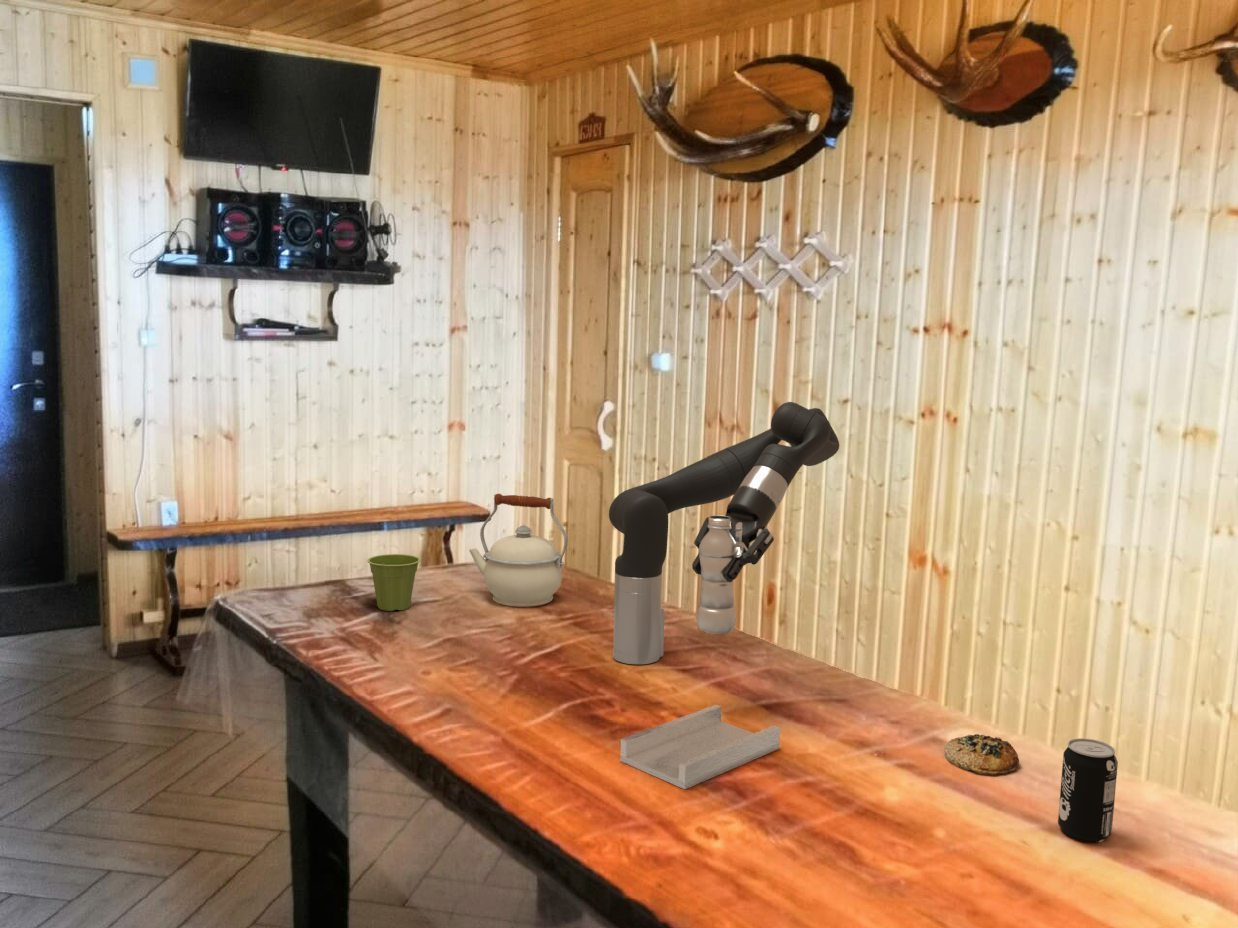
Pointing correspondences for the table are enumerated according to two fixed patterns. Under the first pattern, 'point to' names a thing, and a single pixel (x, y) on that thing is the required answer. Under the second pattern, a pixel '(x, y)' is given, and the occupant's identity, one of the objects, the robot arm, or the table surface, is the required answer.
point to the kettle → (521, 560)
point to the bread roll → (982, 754)
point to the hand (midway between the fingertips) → (711, 575)
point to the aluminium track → (696, 747)
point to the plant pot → (393, 580)
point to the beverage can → (1088, 790)
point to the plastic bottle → (716, 578)
